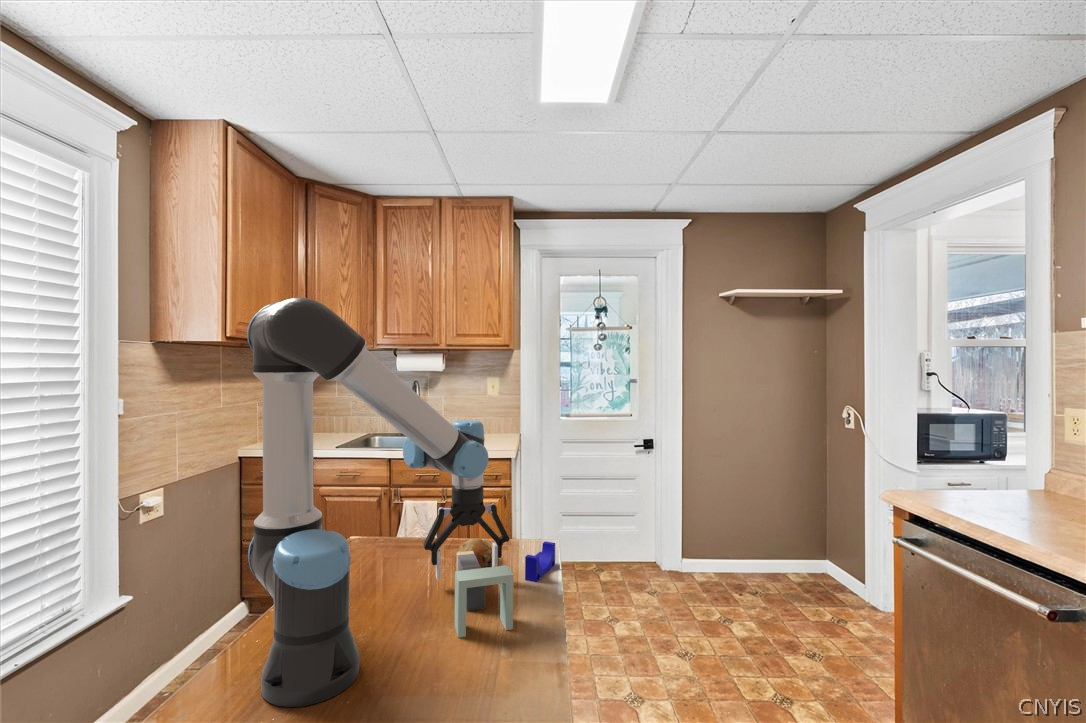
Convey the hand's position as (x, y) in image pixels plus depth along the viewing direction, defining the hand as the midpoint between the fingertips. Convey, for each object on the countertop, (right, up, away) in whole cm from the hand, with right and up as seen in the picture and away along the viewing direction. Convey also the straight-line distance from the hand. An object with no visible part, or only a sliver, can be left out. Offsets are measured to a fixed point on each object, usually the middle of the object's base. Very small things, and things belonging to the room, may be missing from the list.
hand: (466, 574), depth 123 cm
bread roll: (0, -3, +15) cm, 15 cm away
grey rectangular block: (+1, -3, -4) cm, 5 cm away
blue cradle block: (+17, -3, +9) cm, 19 cm away
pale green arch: (+6, -3, -19) cm, 20 cm away
